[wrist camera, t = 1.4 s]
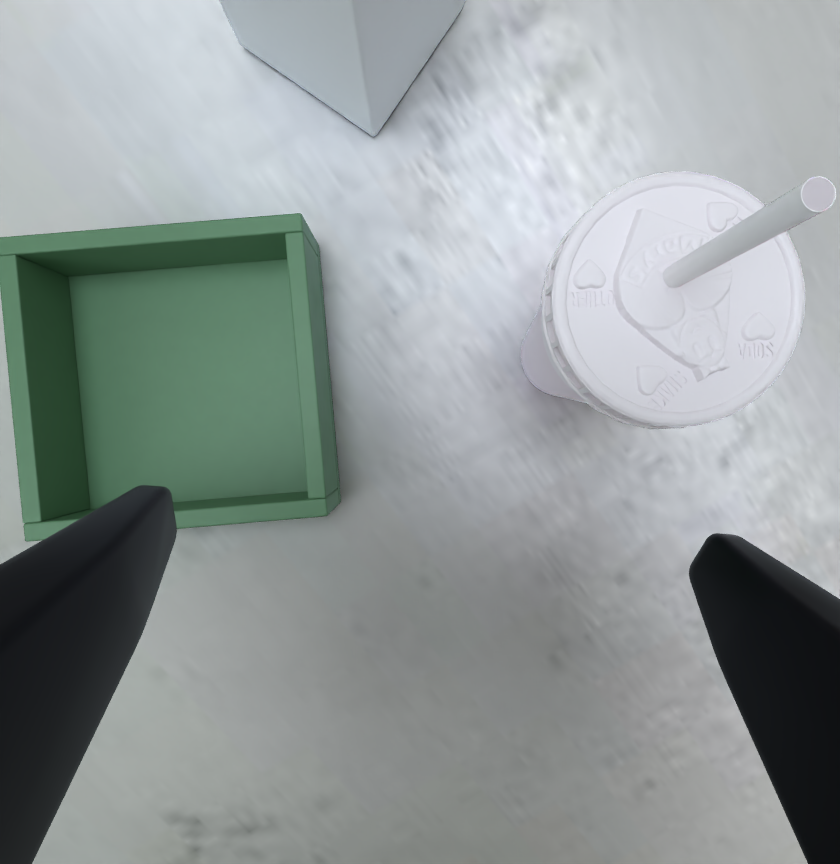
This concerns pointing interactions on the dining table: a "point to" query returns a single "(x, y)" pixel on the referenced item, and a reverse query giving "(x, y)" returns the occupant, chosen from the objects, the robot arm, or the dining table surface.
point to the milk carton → (345, 47)
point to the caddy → (170, 371)
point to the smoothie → (673, 300)
